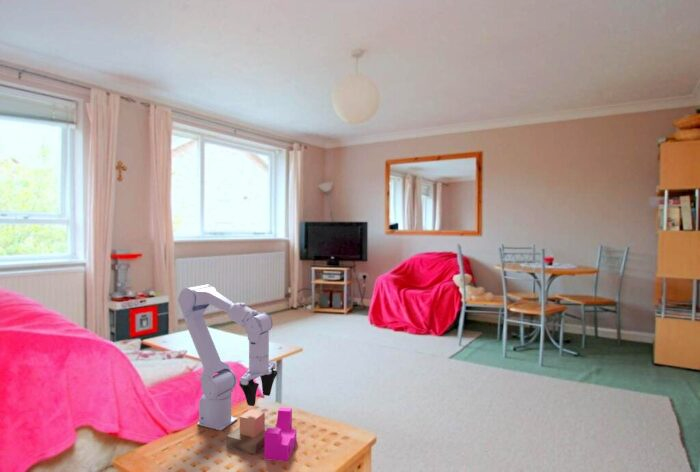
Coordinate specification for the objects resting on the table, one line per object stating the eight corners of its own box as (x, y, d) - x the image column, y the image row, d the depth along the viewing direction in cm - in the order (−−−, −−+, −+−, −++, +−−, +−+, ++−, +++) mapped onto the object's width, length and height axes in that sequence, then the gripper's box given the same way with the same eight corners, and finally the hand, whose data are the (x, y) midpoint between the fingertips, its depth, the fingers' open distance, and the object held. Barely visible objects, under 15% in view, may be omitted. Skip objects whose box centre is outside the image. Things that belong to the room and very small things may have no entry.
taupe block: (226, 446, 117) (226, 436, 117) (248, 430, 127) (248, 420, 126) (256, 454, 113) (256, 443, 113) (276, 437, 123) (276, 427, 123)
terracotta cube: (239, 433, 119) (239, 416, 118) (250, 425, 123) (250, 409, 123) (254, 437, 117) (254, 420, 116) (264, 429, 121) (264, 412, 121)
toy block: (287, 461, 111) (287, 434, 110) (264, 460, 111) (264, 432, 111) (299, 433, 126) (300, 408, 125) (279, 431, 126) (279, 407, 126)
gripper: (255, 364, 115) (255, 412, 116) (283, 349, 128) (283, 393, 129) (234, 361, 118) (234, 408, 118) (264, 346, 131) (264, 389, 132)
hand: (259, 400), depth 124 cm, fingers open, 7 cm apart
